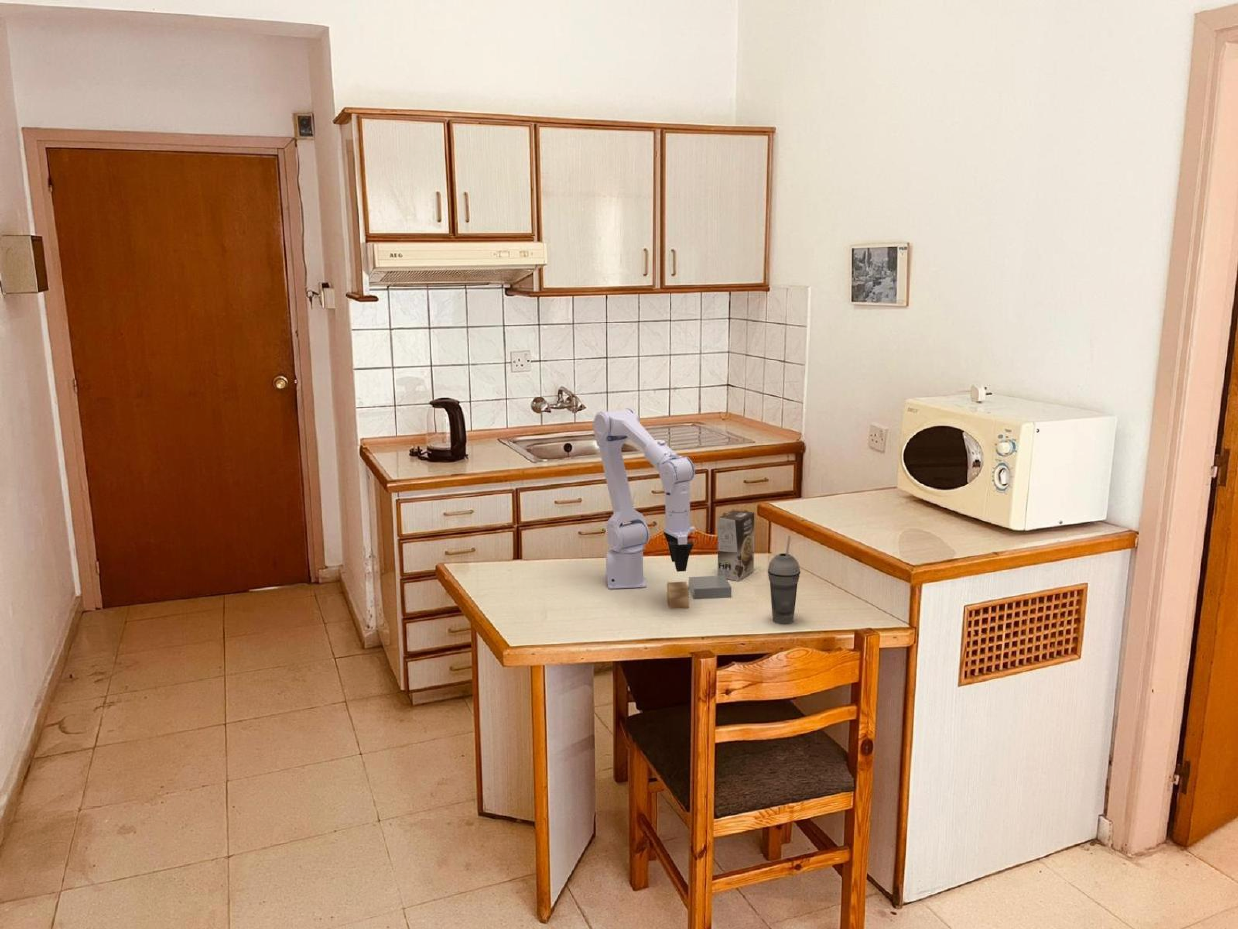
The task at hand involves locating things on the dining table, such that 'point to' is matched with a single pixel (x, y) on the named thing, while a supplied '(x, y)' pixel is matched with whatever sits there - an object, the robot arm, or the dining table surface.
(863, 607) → the dining table surface
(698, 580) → the slate base
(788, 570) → the beverage cup
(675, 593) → the oak block
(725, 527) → the coffee box
